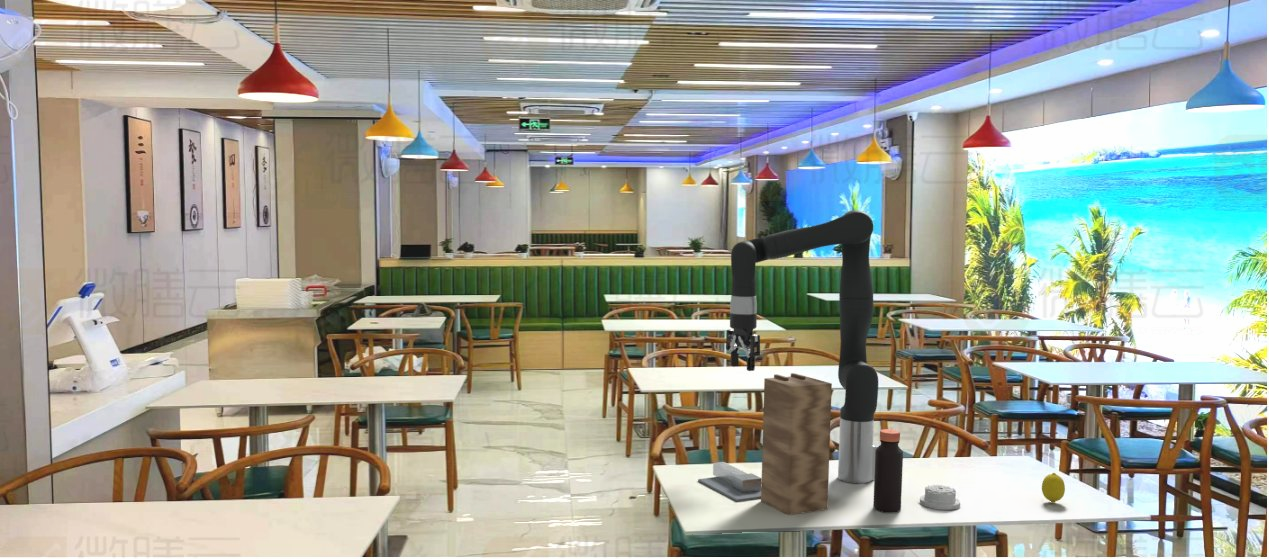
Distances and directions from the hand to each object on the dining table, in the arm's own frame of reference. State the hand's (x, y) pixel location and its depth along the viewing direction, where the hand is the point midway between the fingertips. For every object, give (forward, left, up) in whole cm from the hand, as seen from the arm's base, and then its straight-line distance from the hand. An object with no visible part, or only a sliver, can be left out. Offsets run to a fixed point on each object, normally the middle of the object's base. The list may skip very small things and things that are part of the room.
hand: (742, 368), depth 273 cm
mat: (+10, +14, -30) cm, 35 cm away
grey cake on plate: (-32, +46, -30) cm, 64 cm away
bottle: (-16, +44, -30) cm, 56 cm away
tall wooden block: (+4, +32, -30) cm, 44 cm away
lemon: (-60, +57, -30) cm, 88 cm away
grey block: (+9, +11, -29) cm, 32 cm away
